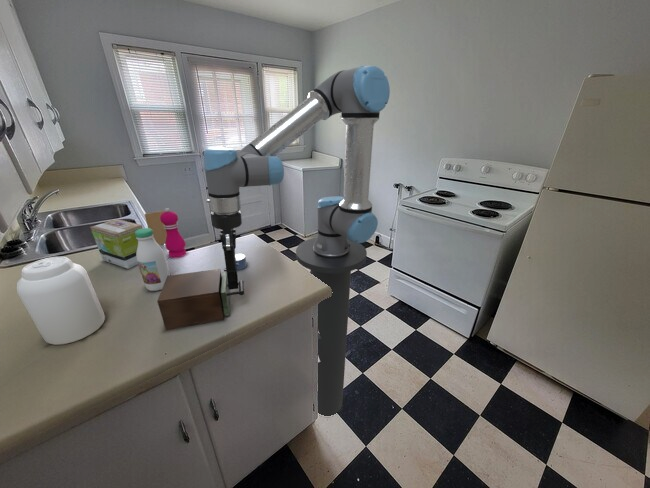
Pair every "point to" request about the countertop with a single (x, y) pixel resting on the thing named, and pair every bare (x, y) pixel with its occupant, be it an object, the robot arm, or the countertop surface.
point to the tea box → (117, 242)
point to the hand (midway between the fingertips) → (233, 287)
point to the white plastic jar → (60, 300)
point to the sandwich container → (156, 226)
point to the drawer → (228, 292)
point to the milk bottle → (151, 260)
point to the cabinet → (191, 299)
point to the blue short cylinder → (240, 261)
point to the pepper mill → (173, 234)
